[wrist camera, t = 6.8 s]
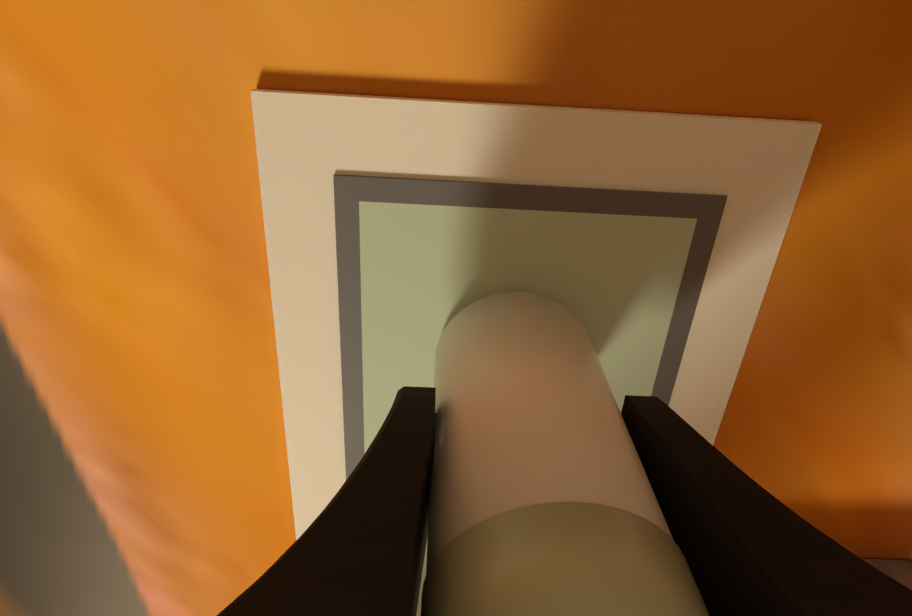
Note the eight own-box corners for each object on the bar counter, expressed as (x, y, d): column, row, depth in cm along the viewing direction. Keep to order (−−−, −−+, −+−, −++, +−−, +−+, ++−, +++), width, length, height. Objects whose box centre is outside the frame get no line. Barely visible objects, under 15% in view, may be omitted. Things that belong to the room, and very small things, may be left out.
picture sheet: (633, 662, 20) (636, 674, 20) (310, 655, 20) (308, 667, 19) (813, 121, 12) (825, 125, 11) (255, 88, 11) (248, 91, 11)
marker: (580, 428, 14) (708, 845, 7) (429, 422, 14) (410, 842, 7) (606, 293, 13) (810, 668, 6) (435, 285, 12) (418, 659, 5)
